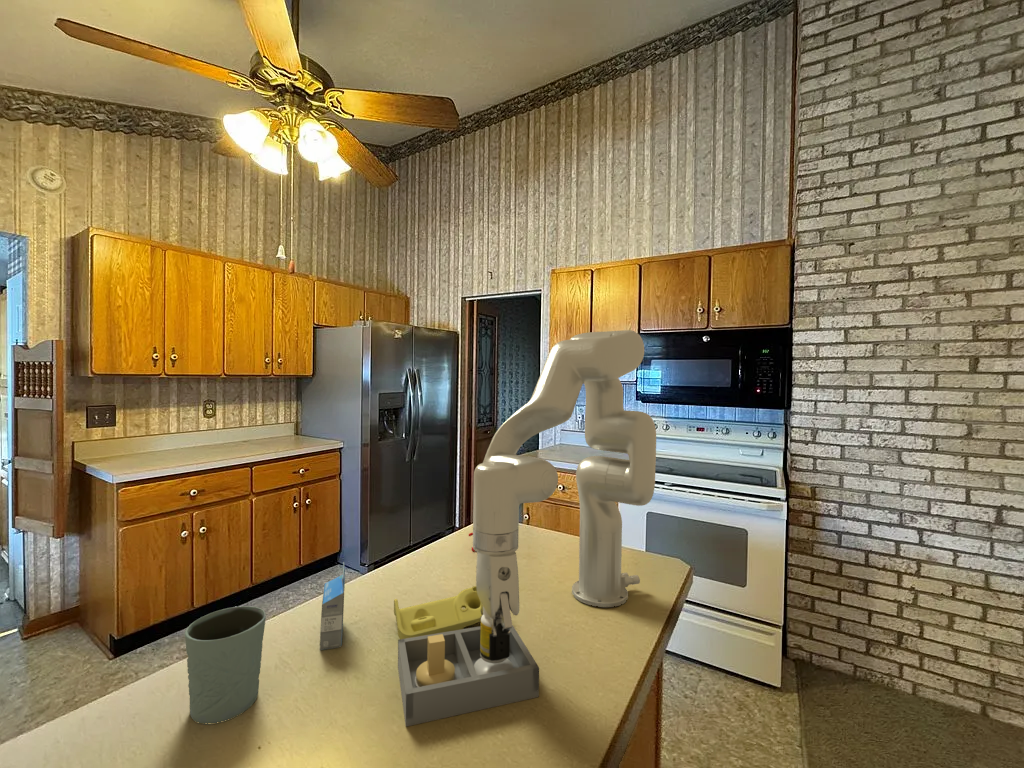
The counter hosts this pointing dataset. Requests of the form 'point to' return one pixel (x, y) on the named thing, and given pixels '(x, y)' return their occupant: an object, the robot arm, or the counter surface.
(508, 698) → the grey divided bin
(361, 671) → the counter surface
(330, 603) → the label tape box
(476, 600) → the plastic component
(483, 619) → the supplement bottle
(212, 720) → the grey cup
